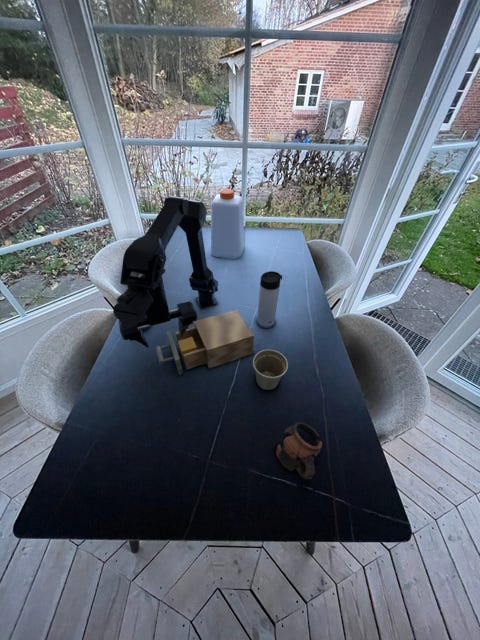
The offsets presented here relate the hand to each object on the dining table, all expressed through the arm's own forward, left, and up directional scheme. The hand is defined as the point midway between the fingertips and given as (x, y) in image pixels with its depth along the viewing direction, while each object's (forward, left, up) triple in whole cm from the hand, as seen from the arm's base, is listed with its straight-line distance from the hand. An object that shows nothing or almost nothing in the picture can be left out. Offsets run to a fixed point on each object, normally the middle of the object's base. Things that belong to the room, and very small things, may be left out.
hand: (164, 341), depth 73 cm
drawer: (0, +6, -9) cm, 11 cm away
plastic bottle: (-57, +41, -11) cm, 71 cm away
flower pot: (+17, +24, -11) cm, 31 cm away
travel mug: (-5, +35, -11) cm, 37 cm away
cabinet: (0, +17, -10) cm, 20 cm away
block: (0, +6, -8) cm, 10 cm away
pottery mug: (+38, +21, -11) cm, 45 cm away
